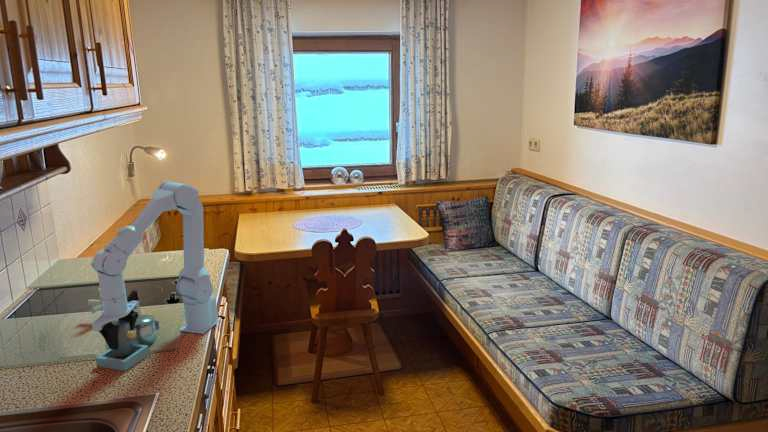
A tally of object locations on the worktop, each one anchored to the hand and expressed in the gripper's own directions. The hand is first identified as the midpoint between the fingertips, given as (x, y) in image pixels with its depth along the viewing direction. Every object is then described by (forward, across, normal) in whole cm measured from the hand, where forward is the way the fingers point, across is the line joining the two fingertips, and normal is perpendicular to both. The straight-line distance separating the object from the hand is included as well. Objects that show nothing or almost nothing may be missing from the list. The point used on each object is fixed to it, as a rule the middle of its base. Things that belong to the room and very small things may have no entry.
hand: (121, 343), depth 147 cm
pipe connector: (+5, -20, -24) cm, 32 cm away
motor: (+5, -10, -2) cm, 11 cm away
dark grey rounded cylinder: (+2, 0, 0) cm, 2 cm away
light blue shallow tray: (+5, 0, 0) cm, 5 cm away
